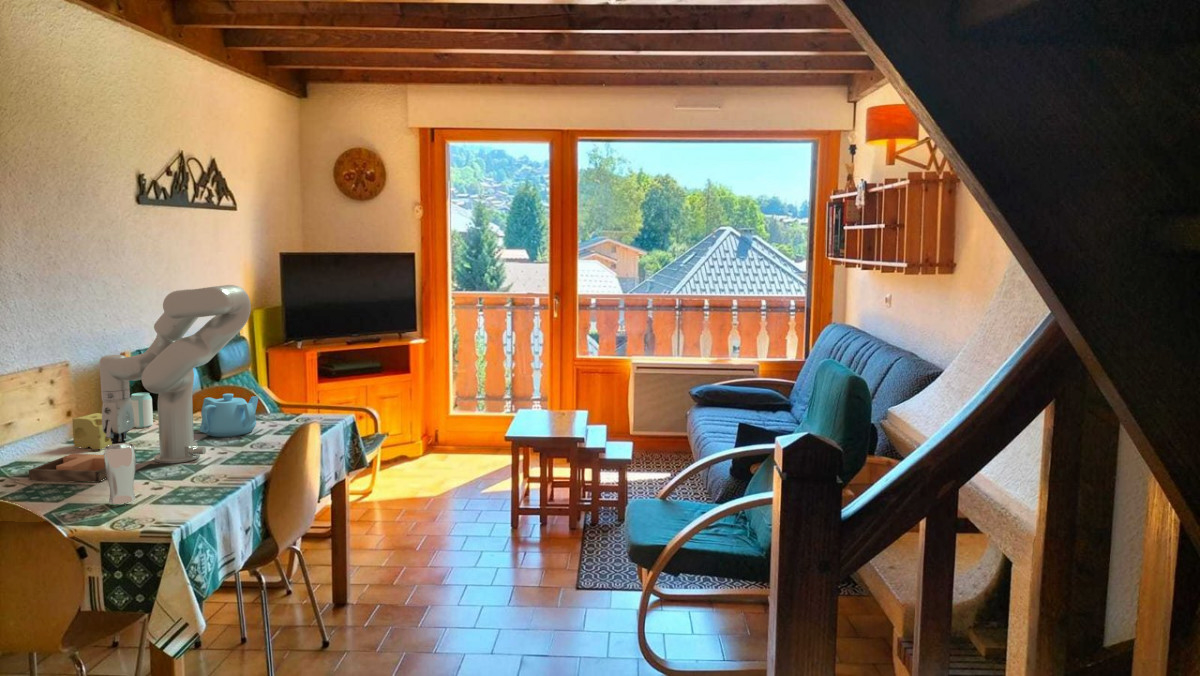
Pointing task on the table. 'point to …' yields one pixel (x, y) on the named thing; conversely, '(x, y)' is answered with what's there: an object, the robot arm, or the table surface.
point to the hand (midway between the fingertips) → (119, 453)
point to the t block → (82, 462)
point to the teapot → (228, 416)
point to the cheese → (90, 432)
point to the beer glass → (120, 472)
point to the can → (142, 409)
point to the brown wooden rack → (64, 473)
